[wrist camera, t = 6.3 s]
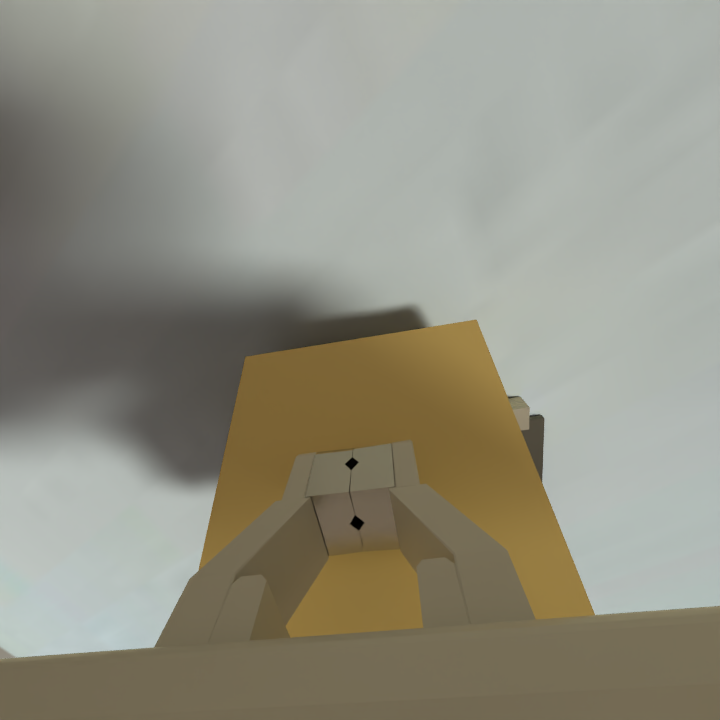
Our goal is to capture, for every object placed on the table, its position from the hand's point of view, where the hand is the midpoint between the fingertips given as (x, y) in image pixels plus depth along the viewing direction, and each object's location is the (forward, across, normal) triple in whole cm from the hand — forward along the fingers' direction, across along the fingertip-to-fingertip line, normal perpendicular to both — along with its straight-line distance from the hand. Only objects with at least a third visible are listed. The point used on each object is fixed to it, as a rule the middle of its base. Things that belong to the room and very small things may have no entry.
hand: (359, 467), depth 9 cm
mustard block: (+6, 0, 0) cm, 6 cm away
